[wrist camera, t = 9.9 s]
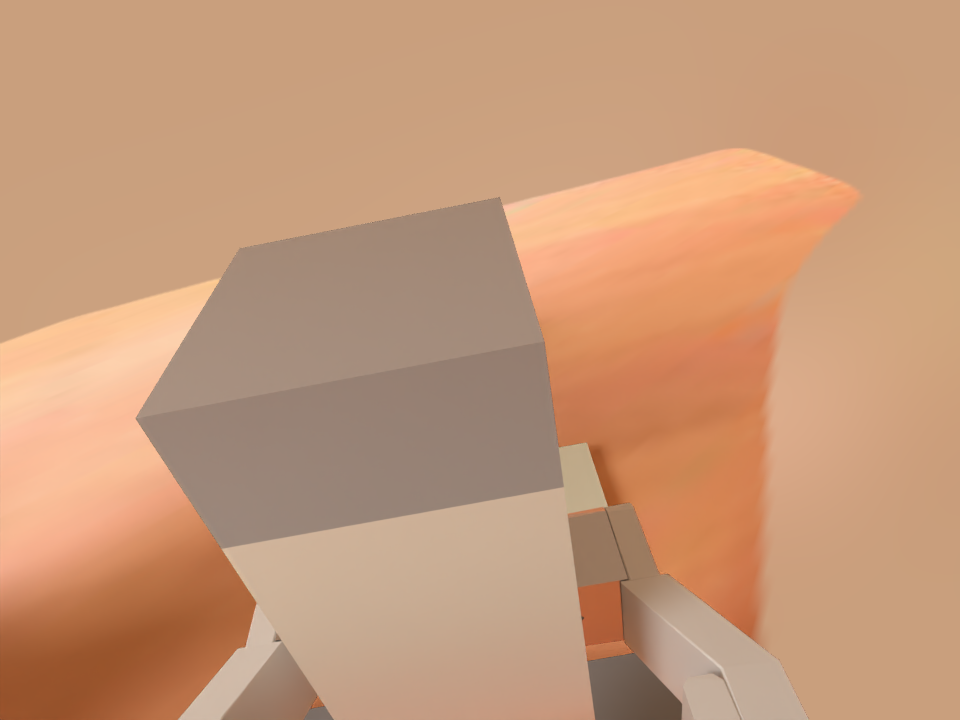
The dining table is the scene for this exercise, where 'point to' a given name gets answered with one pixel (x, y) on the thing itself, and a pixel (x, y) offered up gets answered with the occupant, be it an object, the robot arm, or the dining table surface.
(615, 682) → the block
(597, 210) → the dining table surface
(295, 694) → the robot arm
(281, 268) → the cream plug
